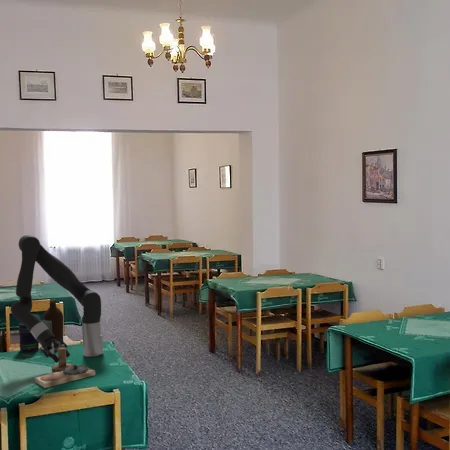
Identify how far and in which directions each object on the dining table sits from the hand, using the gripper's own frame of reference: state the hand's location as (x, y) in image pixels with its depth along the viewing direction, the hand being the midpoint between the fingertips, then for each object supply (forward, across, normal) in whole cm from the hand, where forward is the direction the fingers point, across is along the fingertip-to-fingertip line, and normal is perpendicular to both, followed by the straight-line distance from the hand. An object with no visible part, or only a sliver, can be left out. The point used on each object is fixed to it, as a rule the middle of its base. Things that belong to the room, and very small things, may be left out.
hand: (63, 358), depth 262 cm
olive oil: (-20, +38, +27) cm, 51 cm away
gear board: (+10, -11, -2) cm, 15 cm away
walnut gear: (+3, 0, +4) cm, 5 cm away
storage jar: (-24, +24, +31) cm, 46 cm away
